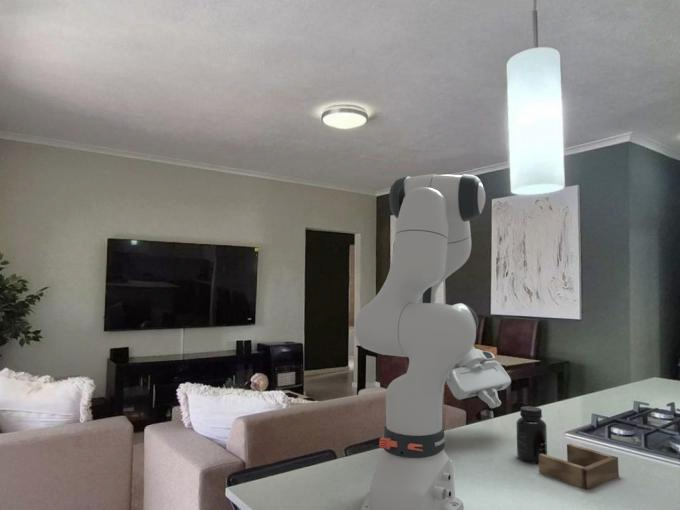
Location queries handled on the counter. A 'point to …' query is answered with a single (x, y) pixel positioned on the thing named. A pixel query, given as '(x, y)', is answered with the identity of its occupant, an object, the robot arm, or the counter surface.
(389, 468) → the robot arm
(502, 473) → the counter surface
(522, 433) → the supplement bottle
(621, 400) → the counter surface
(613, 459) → the walnut holder
